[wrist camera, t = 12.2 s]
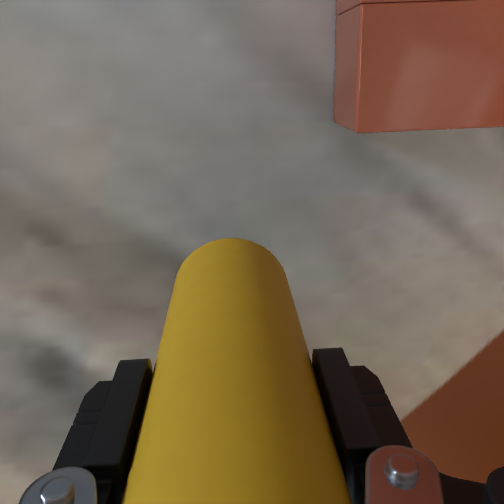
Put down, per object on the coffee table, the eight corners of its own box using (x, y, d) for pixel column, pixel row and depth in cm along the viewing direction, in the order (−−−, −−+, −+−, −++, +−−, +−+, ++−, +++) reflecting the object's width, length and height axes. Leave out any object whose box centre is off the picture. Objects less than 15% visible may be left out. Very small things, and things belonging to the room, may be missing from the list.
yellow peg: (169, 240, 17) (28, 660, 5) (286, 234, 17) (434, 628, 5) (180, 342, 19) (91, 861, 6) (288, 336, 19) (404, 830, 7)
